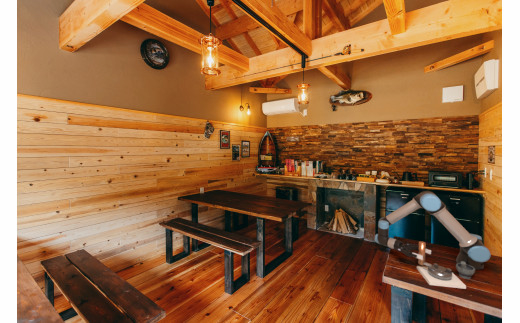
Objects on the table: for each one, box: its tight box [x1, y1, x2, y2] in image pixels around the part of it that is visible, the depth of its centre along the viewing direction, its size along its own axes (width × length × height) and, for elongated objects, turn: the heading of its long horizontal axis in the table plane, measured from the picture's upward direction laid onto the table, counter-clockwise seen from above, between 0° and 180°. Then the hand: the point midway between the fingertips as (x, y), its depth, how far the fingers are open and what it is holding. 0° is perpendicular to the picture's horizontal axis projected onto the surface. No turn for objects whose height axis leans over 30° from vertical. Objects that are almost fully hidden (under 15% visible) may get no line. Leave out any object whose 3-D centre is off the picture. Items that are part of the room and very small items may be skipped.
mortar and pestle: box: [455, 261, 476, 280], centre depth 158 cm, size 11×9×12 cm
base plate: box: [416, 265, 467, 290], centre depth 157 cm, size 20×20×2 cm
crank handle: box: [417, 240, 453, 281], centre depth 159 cm, size 20×13×19 cm, turn 33°
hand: (427, 255), depth 163 cm, fingers open, 13 cm apart
